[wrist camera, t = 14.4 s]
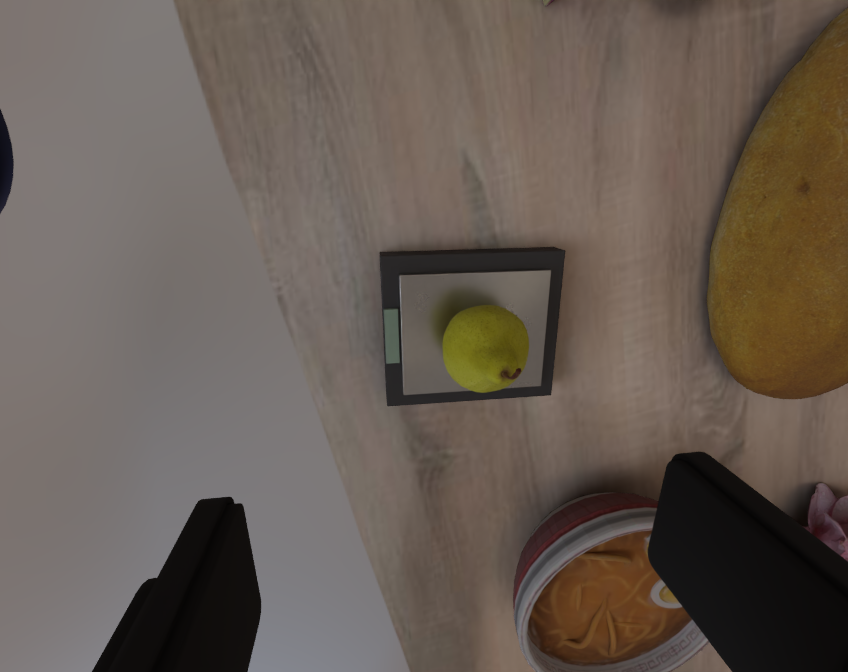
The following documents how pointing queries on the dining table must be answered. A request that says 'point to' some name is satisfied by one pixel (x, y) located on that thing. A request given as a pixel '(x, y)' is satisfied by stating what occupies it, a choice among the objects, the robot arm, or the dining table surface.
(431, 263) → the scale
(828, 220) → the bread
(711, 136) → the dining table surface
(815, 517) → the flower
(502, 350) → the fruit
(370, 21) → the dining table surface
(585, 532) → the bowl
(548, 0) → the box
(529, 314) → the scale pan
